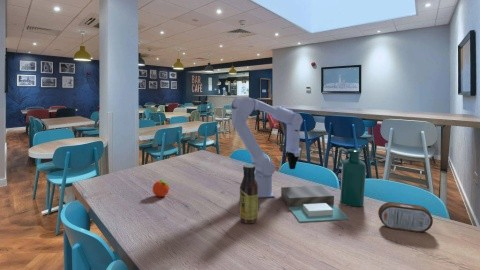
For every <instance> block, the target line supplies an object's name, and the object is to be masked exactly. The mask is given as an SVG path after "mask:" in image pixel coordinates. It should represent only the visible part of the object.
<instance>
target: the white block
mask: <svg viewBox="0 0 480 270" xmlns="http://www.w3.org/2000/svg"><path fill="white" fill-rule="evenodd" d="M303 210H304V211H305V212H306V214H307V215H308V216H324V215H333V209H332V208H331V207H330V206H329V205H327V204H326V203H318V204H303Z"/></svg>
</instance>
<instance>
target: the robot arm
mask: <svg viewBox="0 0 480 270" xmlns="http://www.w3.org/2000/svg"><path fill="white" fill-rule="evenodd" d="M230 110H231V124H232V126H233V128H234V129H235V131H236V133H237V134H238V136H239V138H240V140H241V142H242V144H243V145H244V147H245V148H246V150H247V151H248V153H249V156H250V157H251V162H252V165H255V178H254V179H255V180H256V182H257V184H258V198H272V197H273V198H274V197H275V195H274V193H273V174H274V173H275V170H276V166H275V164H274V162H272V161H270V159H269V158H268V156H266V155H265V153H264V151H263V150H262V149H261V146H260V145H259V143H258V141H257V140H256V138H255V136H254V134H253V132H252V131H251V129H250V127H249V126H248V123H247V121H248V118H249V117H250V115H251V114H252V112H253V111H257V110H258V111H261V112H264V113H267V114H270V115H271V117H272V118H273V119H274V120H277V121H279V122H282V123H284V124H285V125H286V143H285V144H286V146H285V151H286V152H285V156H286V158H287V159H286V160H287V162H288V168H289V169H290V170H295V169H296V166H297V163H298V159H299V158H300V157H301V152H302V150H303V149H302V148H301V147H300V136H301V135H300V131H301V127H302V124H303V121H304V119H303V117H302V115H301V114H300V113H299V112H294V111H293V110H292V109H287V108H285V106H284V105H277V106H275V107H274V106H272V105H270V104H267V103H266V102H263V101H261V100H258V99H256V98H251V97H249V96H245V97H242V96H237V97H234V99H233V100H232V102H231V105H230Z"/></svg>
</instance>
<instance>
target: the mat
mask: <svg viewBox="0 0 480 270" xmlns="http://www.w3.org/2000/svg"><path fill="white" fill-rule="evenodd" d="M329 206H330V207H331V208H332V209H333V215H324V216H308V215H307V214H306V212H305V211H304V210H303V206H298V207H288V208H289V210H290V211H291V213H292V214H293V215H294V217H295V218H296V219H297V221H298V222H299V223H310V222H311V223H312V222H314V223H315V222H329V221H330V222H331V221H347V220H350V217H348V215H346V214H345V213H344V212H342V211H341V209H339V208H338V207H337V206H336V205H335V204H334V205H329Z"/></svg>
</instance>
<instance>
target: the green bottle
mask: <svg viewBox="0 0 480 270" xmlns="http://www.w3.org/2000/svg"><path fill="white" fill-rule="evenodd" d="M342 152H344V154H349V155H348V157H349V158H348V159H347V158H346V159H343V157H342ZM362 152H363V151H362V149H358V148H349V149H346V148H344V147H341V146H340V147H339V158H340V162H341V178H340V181H341V182H340V198H339V199H340V201H339V202H340V204H342V205H344V206H350V207H358V208H359V207H360V208H361V207H363V206H364V205H365V204H364V203H365V190H366V176H367V175H366V174H367V166H366V163H365V162H364V161H363V160H361V159H360V153H362Z"/></svg>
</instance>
